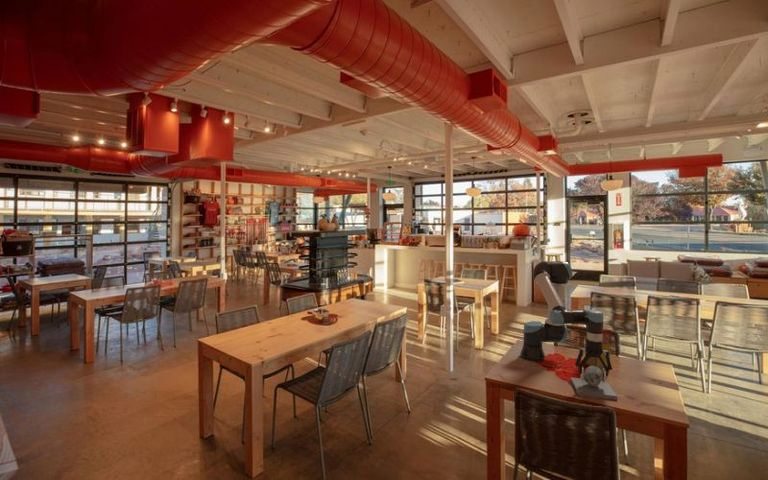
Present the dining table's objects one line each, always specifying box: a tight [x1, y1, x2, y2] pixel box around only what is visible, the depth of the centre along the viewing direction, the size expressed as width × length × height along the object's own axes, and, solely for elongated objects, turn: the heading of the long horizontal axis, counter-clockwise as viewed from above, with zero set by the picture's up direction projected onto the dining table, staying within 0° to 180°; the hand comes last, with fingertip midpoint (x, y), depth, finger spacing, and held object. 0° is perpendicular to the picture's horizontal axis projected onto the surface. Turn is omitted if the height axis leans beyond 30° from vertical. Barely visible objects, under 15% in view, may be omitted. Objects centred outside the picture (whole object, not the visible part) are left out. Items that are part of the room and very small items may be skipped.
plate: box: [570, 376, 618, 401], centre depth 200 cm, size 18×18×2 cm
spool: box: [583, 365, 603, 387], centre depth 200 cm, size 14×10×10 cm
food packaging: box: [584, 325, 612, 372], centre depth 231 cm, size 13×9×25 cm
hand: (592, 380), depth 200 cm, fingers closed on spool, 10 cm apart
